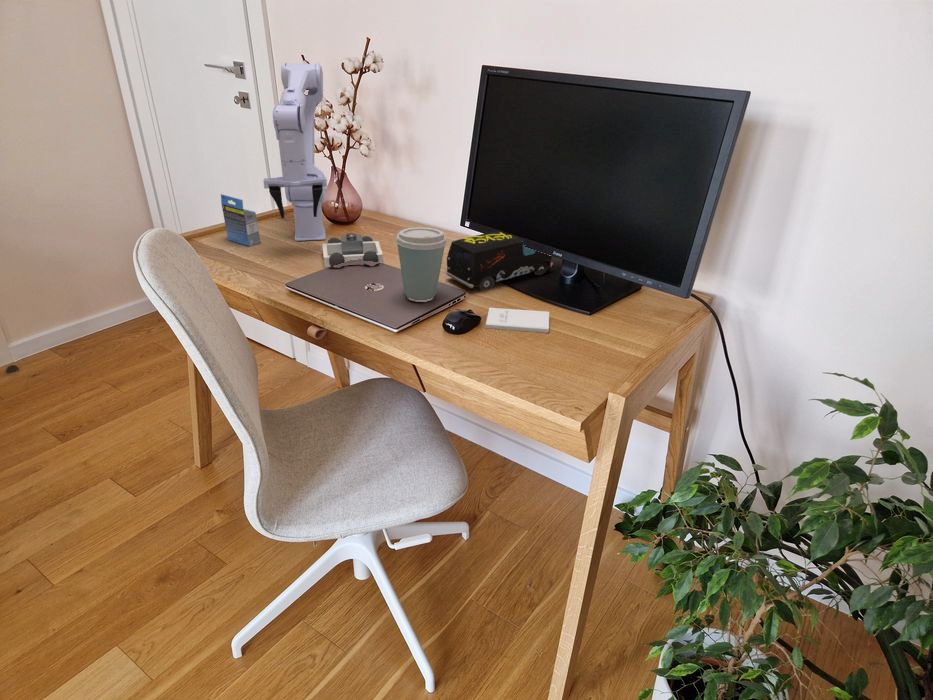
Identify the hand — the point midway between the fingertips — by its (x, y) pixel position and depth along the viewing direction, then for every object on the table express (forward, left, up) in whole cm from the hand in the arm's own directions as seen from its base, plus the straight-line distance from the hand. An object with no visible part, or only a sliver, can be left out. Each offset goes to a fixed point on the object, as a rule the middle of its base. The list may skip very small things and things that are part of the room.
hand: (299, 216), depth 154 cm
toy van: (+23, +45, -10) cm, 52 cm away
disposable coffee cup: (+32, +25, -10) cm, 42 cm away
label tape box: (-11, -15, -10) cm, 21 cm away
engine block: (+6, +12, -10) cm, 16 cm away
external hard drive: (+47, +42, -10) cm, 64 cm away
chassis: (+6, +12, -9) cm, 16 cm away
